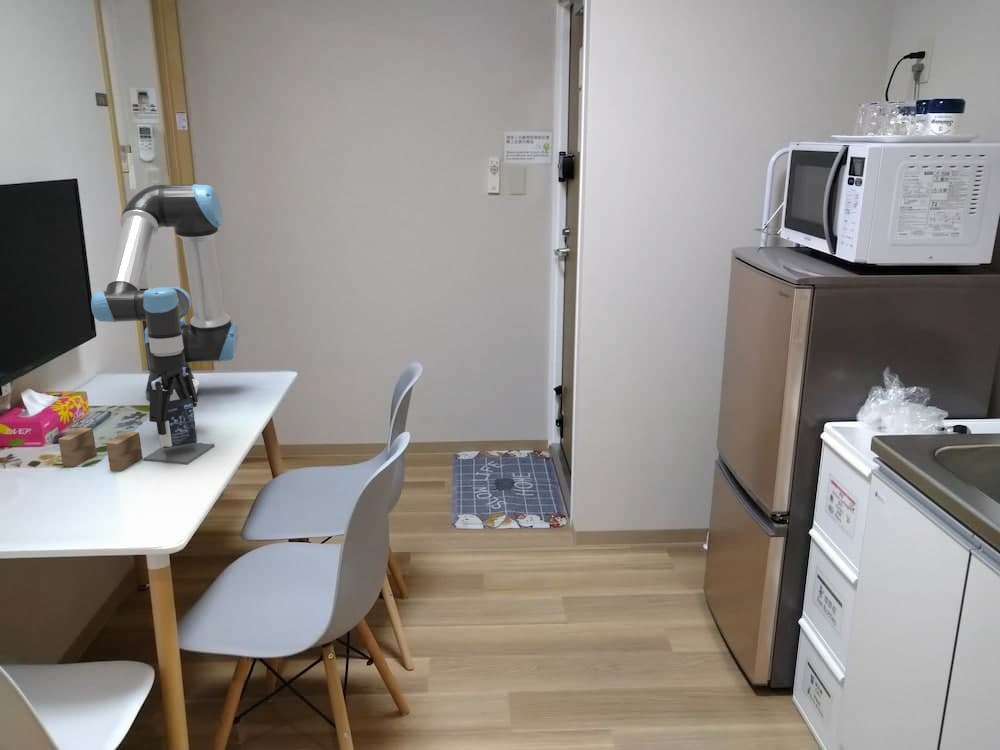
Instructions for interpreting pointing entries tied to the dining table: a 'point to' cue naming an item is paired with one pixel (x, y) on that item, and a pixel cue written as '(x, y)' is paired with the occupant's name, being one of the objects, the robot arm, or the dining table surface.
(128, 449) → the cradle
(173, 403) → the box
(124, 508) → the dining table surface
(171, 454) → the mat
